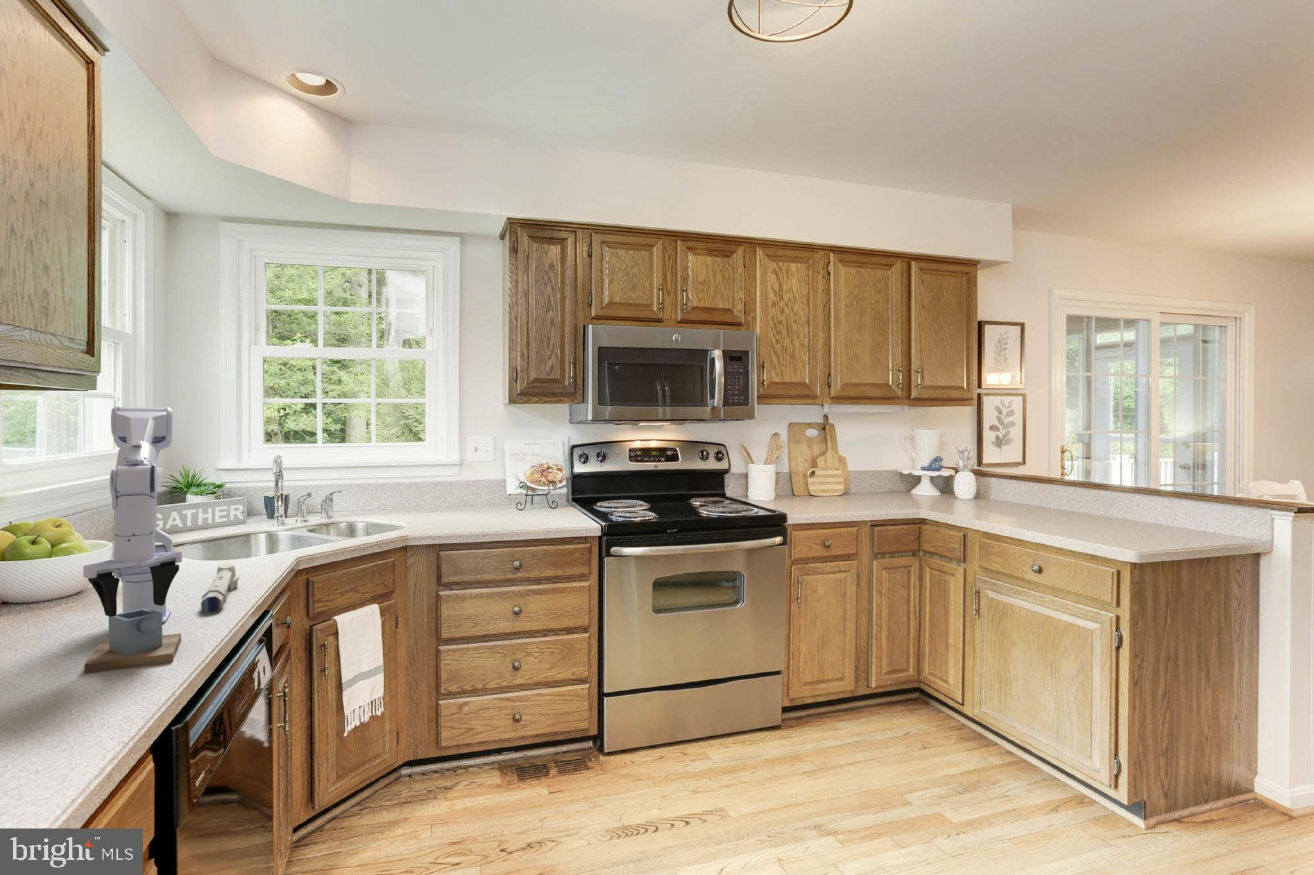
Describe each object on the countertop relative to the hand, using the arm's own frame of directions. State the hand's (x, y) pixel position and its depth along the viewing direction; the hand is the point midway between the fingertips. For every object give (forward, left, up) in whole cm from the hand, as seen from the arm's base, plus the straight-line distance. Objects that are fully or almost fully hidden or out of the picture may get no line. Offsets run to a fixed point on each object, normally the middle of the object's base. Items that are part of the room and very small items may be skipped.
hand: (135, 609), depth 122 cm
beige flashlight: (-37, +10, -9) cm, 40 cm away
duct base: (0, 0, -8) cm, 8 cm away
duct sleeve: (0, 0, -7) cm, 7 cm away
